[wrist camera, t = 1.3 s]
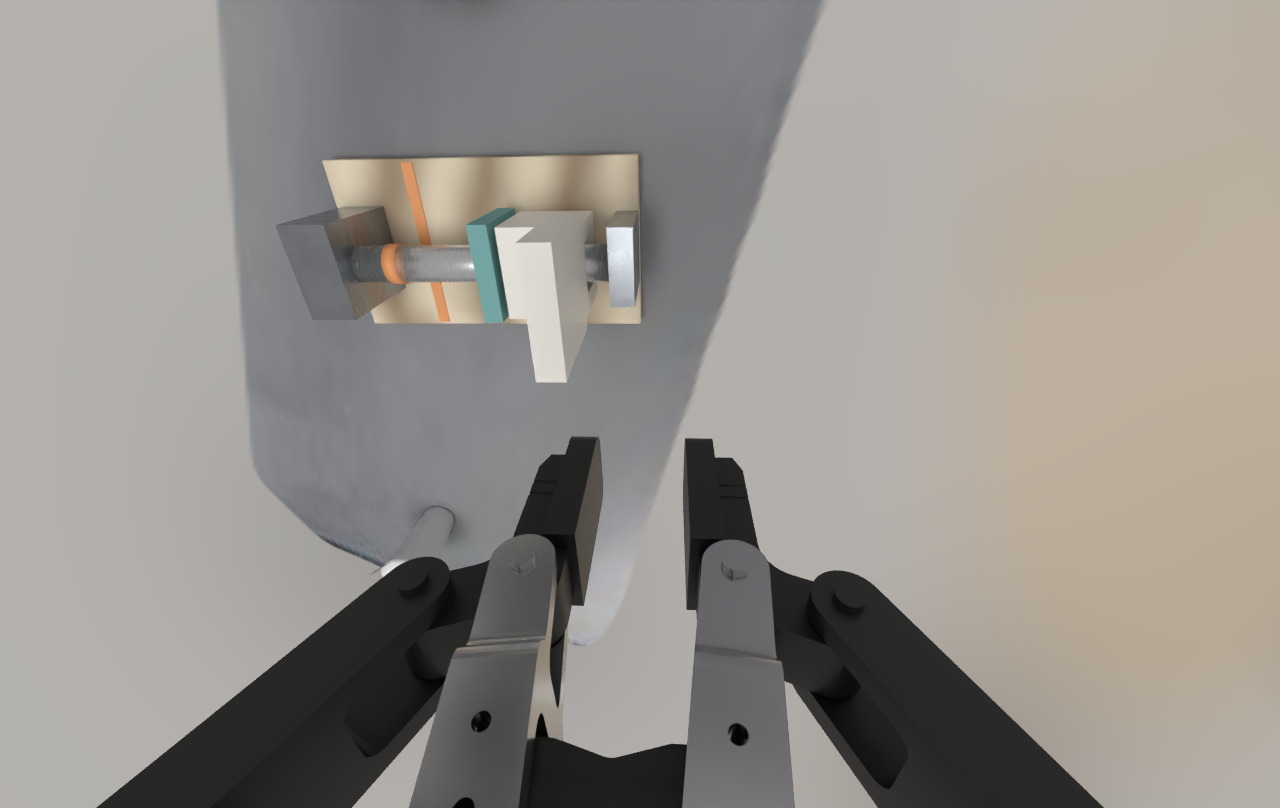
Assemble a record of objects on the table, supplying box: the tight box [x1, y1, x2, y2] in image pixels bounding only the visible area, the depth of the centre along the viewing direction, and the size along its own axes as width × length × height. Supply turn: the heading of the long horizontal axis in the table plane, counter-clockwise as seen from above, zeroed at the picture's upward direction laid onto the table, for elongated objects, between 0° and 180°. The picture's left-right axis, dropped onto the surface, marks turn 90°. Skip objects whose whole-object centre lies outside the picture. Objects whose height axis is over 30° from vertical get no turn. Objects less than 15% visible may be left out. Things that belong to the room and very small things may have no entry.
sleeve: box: [494, 211, 598, 382], centre depth 28 cm, size 5×7×13 cm
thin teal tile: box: [465, 208, 516, 323], centre depth 32 cm, size 1×6×6 cm, turn 1°
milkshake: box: [371, 506, 454, 578], centre depth 48 cm, size 4×5×10 cm
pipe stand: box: [275, 153, 642, 324], centre depth 33 cm, size 22×12×8 cm, turn 91°
